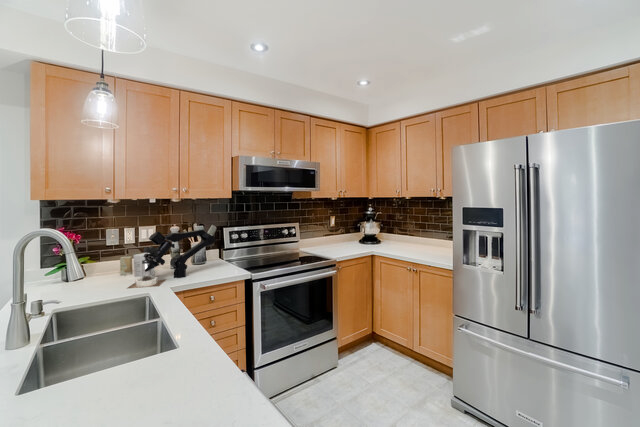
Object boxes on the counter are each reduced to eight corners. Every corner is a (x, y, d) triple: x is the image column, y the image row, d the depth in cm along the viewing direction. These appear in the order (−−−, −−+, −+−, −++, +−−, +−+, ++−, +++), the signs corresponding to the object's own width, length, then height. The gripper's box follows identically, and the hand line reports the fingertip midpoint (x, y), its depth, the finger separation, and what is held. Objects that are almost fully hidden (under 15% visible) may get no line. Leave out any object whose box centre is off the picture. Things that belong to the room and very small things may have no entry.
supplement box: (147, 273, 204) (146, 252, 203) (154, 275, 199) (154, 253, 199) (133, 276, 196) (132, 254, 195) (141, 278, 191) (140, 255, 191)
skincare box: (120, 275, 199) (119, 257, 199) (122, 274, 204) (121, 256, 203) (130, 274, 201) (130, 257, 201) (132, 273, 205) (132, 256, 205)
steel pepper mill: (152, 279, 177) (151, 259, 176) (149, 281, 172) (148, 260, 172) (144, 280, 176) (143, 259, 175) (141, 282, 171) (140, 261, 171)
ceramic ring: (159, 280, 181) (159, 276, 180) (153, 285, 170) (153, 280, 170) (140, 282, 178) (140, 277, 178) (132, 287, 168) (132, 282, 167)
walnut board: (166, 280, 184) (166, 279, 184) (158, 287, 169) (158, 286, 169) (136, 282, 180) (136, 281, 180) (126, 289, 165) (126, 288, 165)
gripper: (146, 240, 182) (126, 261, 174) (158, 242, 170) (138, 265, 162) (160, 251, 188) (142, 271, 180) (172, 254, 177) (154, 275, 169)
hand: (143, 270), depth 173 cm, fingers closed on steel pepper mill, 5 cm apart
